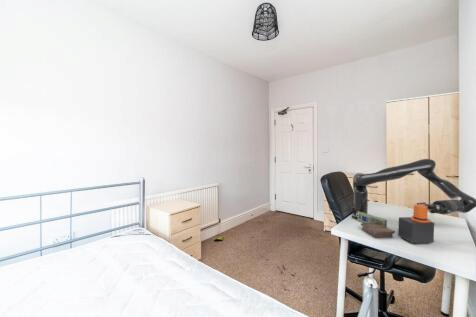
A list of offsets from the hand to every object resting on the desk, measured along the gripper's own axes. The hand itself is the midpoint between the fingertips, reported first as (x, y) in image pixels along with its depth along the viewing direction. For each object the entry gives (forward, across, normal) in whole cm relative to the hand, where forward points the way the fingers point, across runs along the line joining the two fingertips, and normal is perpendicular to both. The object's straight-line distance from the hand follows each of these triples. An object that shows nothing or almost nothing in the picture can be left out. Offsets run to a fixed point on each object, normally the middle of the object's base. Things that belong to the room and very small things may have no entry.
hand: (422, 209), depth 122 cm
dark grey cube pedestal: (+4, 0, -18) cm, 19 cm away
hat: (+2, 0, -6) cm, 6 cm away
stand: (+17, +14, -18) cm, 28 cm away
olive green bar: (+9, +29, -18) cm, 36 cm away
